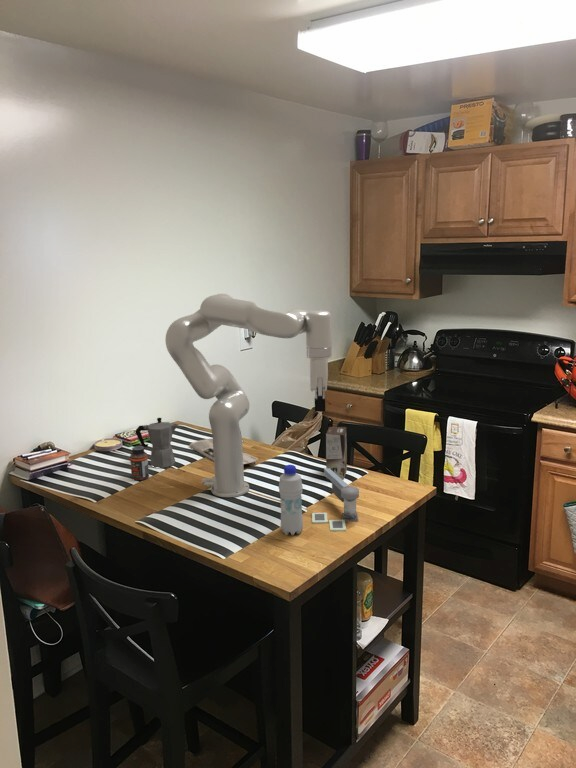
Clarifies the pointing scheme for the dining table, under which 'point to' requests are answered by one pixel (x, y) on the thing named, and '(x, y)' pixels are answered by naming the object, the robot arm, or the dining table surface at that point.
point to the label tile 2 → (337, 525)
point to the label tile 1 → (319, 518)
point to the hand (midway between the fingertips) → (320, 410)
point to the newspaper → (207, 450)
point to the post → (350, 510)
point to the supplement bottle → (139, 463)
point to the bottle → (291, 500)
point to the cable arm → (341, 486)
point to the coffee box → (336, 450)
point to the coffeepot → (159, 442)
